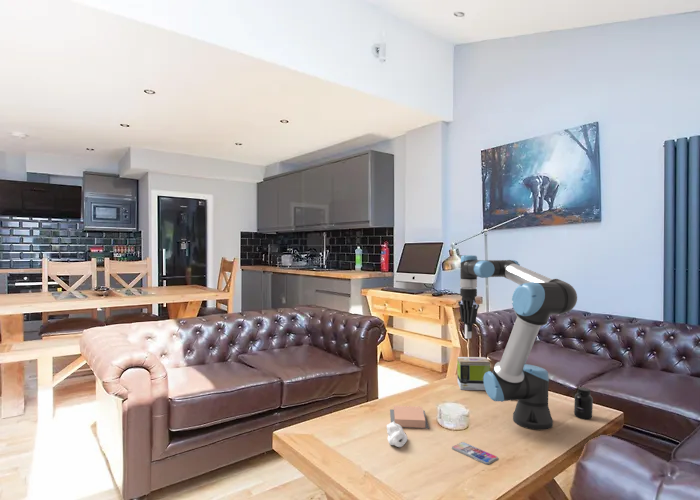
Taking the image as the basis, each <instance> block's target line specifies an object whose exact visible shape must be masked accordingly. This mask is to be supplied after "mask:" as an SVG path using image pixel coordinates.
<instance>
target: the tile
mask: <svg viewBox="0 0 700 500" xmlns="http://www.w3.org/2000/svg"><path fill="white" fill-rule="evenodd" d="M393 410H394V422H395V423H396V424H399V425H400V426H401V427H415V428H414V429H426V428H425V417H424V413H423V411H424V410H423V406H416V405H415V406H411V405H409V406H407V405H393Z"/></svg>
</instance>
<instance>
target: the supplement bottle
mask: <svg viewBox="0 0 700 500" xmlns="http://www.w3.org/2000/svg"><path fill="white" fill-rule="evenodd" d="M593 404H594V399H593V397H592V396H591V389H590V388H588V387H585V386H584V387H583V386H578V387H577V391H576V393H575V395H574V404H573V405H574V408H573V413H574V416H575V417H576V418H578V419H581V420H591V419H592V418H593V408H594V407H593V406H594V405H593Z"/></svg>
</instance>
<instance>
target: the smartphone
mask: <svg viewBox="0 0 700 500" xmlns="http://www.w3.org/2000/svg"><path fill="white" fill-rule="evenodd" d="M451 449H452V451H455V452H458V453H460V454H462V455H463V456H466V457H467V458H468V457H469V458H471V459H472V460H475V461H477V462H478V463H481V464H483V465H486V466H488V465H491V464H493V463H494V462H496V461H498V460H499V457H498V456H497V455H495V454H492V453H490V452H487V451H485V450H483V449H481V448H479V447H476V446H473V445H472V444H469V443H467V442H465V441H461V442H459V443H457V444H455V445H452V446H451Z"/></svg>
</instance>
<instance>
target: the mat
mask: <svg viewBox="0 0 700 500" xmlns="http://www.w3.org/2000/svg"><path fill="white" fill-rule="evenodd" d="M425 411H426V410H423V413H424V417H425V428H424V429H426V430H427V429H430V427H429V423H428V419H427V415H426V412H425ZM389 415H390V416H389V417H390V423H392V422H394V409H390V408H389ZM405 428H406V429H416V428H415V427H402V429H405Z"/></svg>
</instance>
